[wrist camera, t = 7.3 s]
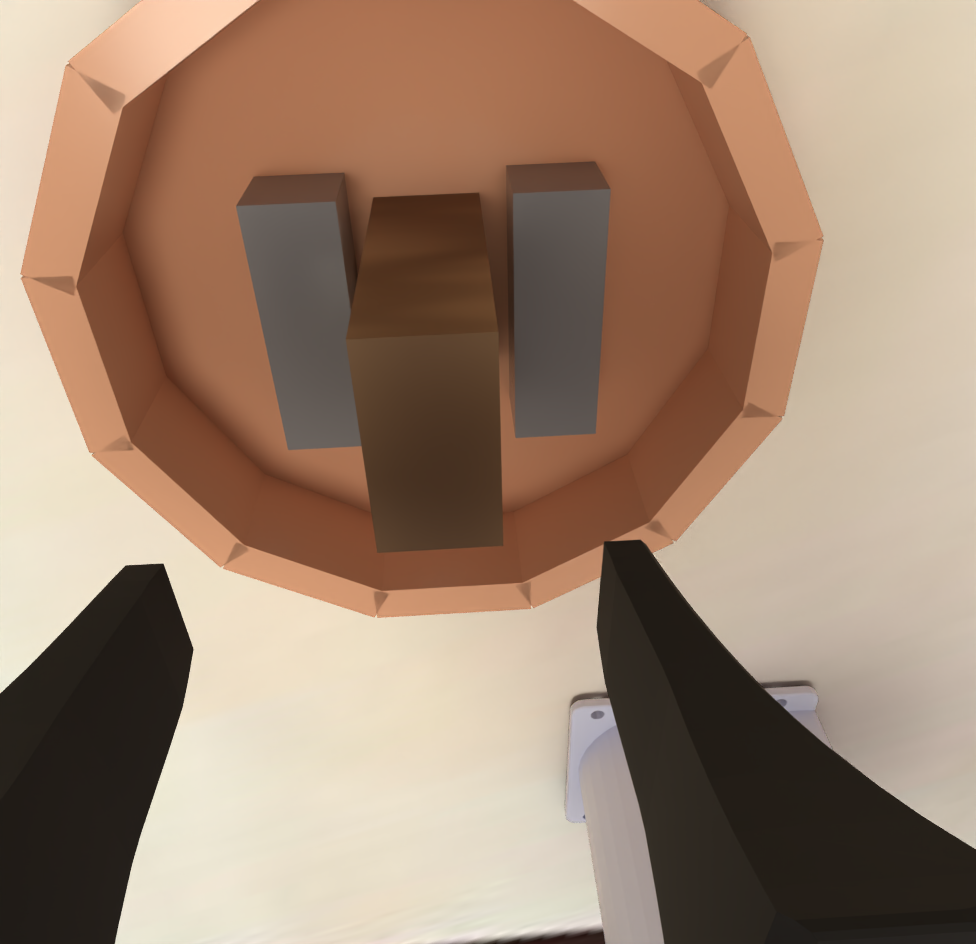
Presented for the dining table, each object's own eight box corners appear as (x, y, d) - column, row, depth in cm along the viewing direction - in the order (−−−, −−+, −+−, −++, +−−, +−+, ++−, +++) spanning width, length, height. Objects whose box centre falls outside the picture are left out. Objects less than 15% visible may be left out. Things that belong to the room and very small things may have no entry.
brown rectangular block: (479, 192, 18) (498, 331, 13) (485, 366, 21) (503, 545, 15) (373, 196, 18) (345, 339, 13) (392, 371, 21) (377, 553, 15)
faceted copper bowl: (810, -123, 16) (905, -123, 13) (704, 505, 26) (743, 596, 22) (-8, -94, 16) (-123, -86, 12) (194, 534, 25) (159, 630, 22)
